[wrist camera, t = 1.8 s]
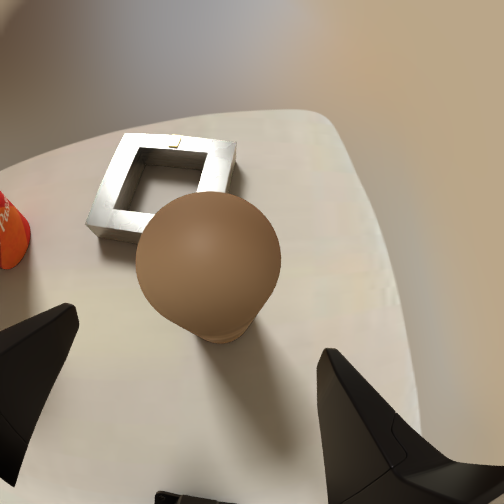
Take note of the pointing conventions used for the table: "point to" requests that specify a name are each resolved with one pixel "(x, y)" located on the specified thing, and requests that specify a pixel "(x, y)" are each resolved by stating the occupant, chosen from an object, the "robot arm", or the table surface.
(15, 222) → the paper cup
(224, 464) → the table surface
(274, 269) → the walnut peg
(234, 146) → the grey square socket base
